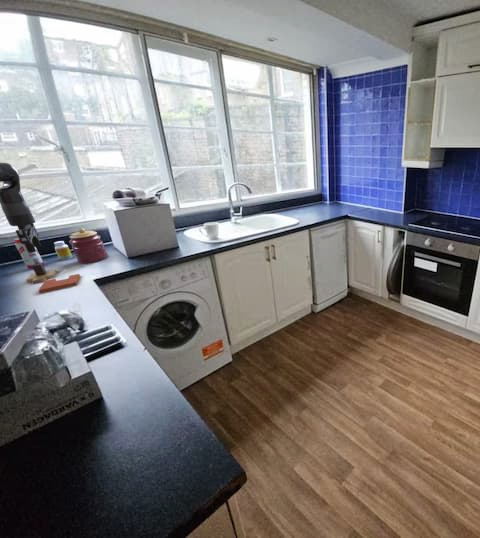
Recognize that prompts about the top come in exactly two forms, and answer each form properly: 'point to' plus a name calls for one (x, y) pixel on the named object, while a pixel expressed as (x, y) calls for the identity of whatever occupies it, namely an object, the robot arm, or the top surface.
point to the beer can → (28, 254)
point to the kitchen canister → (87, 246)
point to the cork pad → (42, 278)
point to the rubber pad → (59, 283)
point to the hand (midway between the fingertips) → (35, 249)
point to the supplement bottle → (62, 250)
